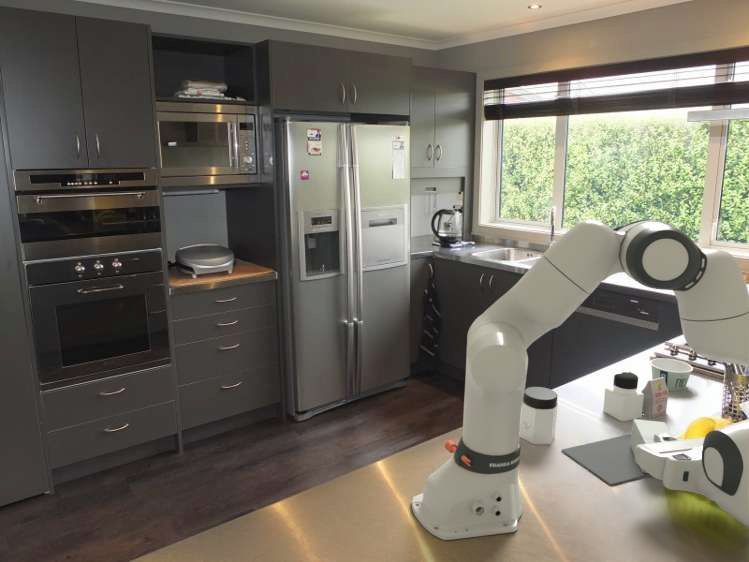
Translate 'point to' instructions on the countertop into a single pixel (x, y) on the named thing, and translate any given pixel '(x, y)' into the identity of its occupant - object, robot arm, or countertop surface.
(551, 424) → the jar
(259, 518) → the countertop surface
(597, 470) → the mat
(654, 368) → the food container
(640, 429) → the supplement box
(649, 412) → the juice carton
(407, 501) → the countertop surface
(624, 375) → the medicine bottle
